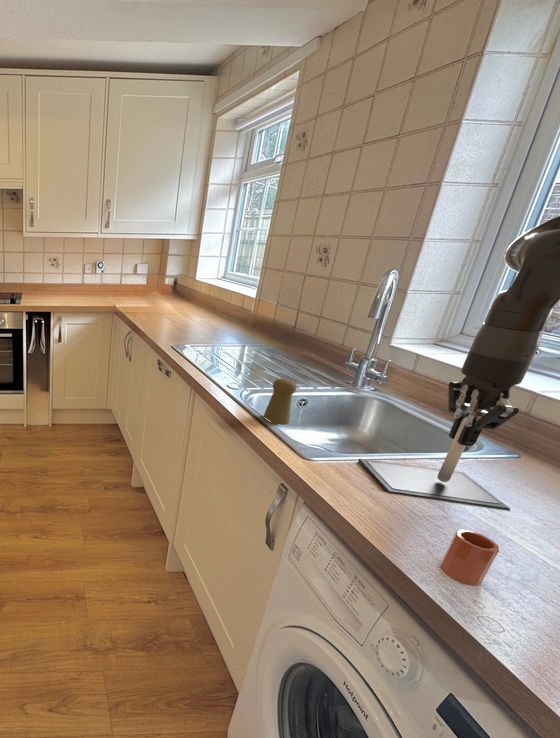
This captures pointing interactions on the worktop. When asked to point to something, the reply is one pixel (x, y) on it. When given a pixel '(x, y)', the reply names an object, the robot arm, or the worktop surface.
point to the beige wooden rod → (452, 456)
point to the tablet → (429, 484)
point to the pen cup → (469, 557)
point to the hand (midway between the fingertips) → (460, 441)
